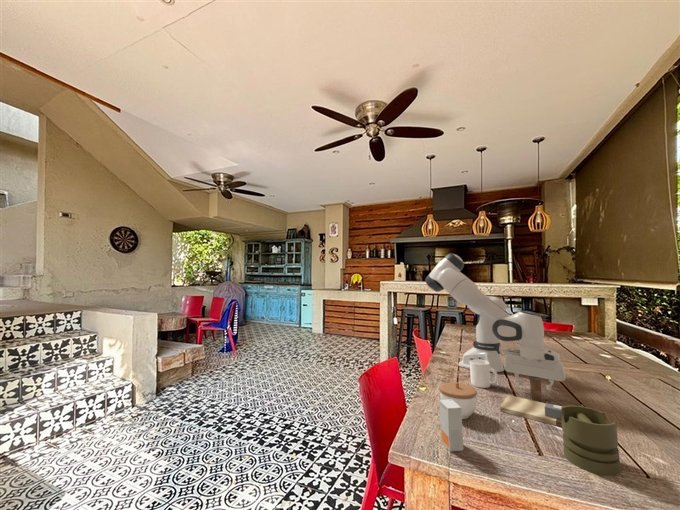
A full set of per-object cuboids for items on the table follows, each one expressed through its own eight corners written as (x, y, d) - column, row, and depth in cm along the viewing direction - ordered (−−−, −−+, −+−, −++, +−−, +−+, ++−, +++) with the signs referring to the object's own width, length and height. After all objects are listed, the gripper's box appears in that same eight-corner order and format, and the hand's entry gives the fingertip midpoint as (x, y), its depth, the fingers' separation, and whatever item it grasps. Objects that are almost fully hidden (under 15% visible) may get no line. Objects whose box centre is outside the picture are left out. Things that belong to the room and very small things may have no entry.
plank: (500, 411, 105) (500, 406, 105) (508, 398, 116) (508, 395, 116) (586, 433, 90) (585, 428, 90) (586, 416, 100) (585, 412, 100)
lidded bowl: (461, 426, 95) (459, 392, 96) (432, 411, 106) (431, 380, 107) (485, 417, 101) (484, 385, 102) (456, 404, 112) (455, 374, 113)
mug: (502, 387, 128) (501, 364, 128) (494, 392, 123) (492, 367, 123) (476, 380, 137) (475, 358, 138) (467, 384, 132) (466, 361, 133)
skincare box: (440, 440, 87) (438, 399, 88) (453, 439, 88) (452, 398, 89) (449, 452, 81) (447, 408, 82) (464, 451, 82) (462, 407, 82)
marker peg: (530, 401, 114) (528, 376, 114) (531, 398, 116) (530, 374, 117) (541, 403, 111) (539, 378, 112) (542, 400, 114) (541, 375, 115)
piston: (603, 408, 80) (626, 428, 70) (606, 453, 80) (630, 480, 69) (554, 403, 85) (569, 421, 74) (557, 445, 84) (573, 470, 73)
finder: (545, 415, 98) (544, 405, 99) (546, 411, 101) (546, 402, 102) (567, 421, 94) (566, 411, 95) (568, 417, 97) (567, 406, 98)
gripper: (501, 349, 120) (503, 383, 119) (562, 358, 106) (565, 396, 105) (504, 346, 125) (506, 379, 123) (564, 354, 111) (566, 391, 110)
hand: (534, 387), depth 114 cm, fingers open, 8 cm apart
